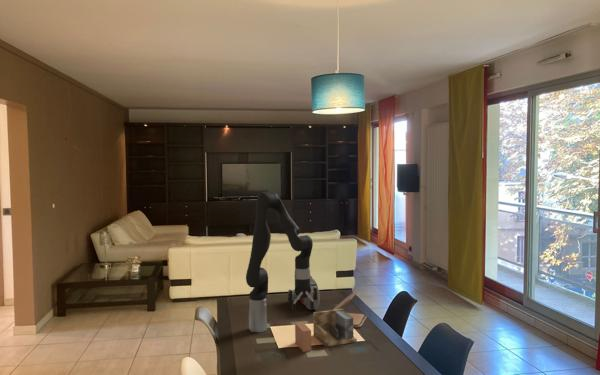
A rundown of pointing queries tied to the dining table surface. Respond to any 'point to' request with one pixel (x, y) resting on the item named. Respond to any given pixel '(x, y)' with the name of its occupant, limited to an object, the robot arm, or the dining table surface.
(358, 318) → the case
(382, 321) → the dining table surface
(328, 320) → the shelf
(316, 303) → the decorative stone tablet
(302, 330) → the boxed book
